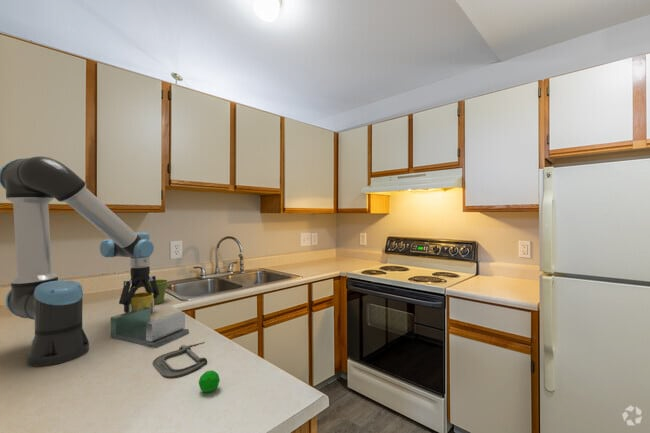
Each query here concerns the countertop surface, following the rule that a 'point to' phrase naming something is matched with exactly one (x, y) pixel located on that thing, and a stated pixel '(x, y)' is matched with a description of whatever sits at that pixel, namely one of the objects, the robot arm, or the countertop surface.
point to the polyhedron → (209, 381)
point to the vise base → (139, 328)
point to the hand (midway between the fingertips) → (140, 315)
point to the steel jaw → (165, 326)
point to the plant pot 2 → (160, 290)
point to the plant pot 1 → (141, 300)
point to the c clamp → (172, 373)
